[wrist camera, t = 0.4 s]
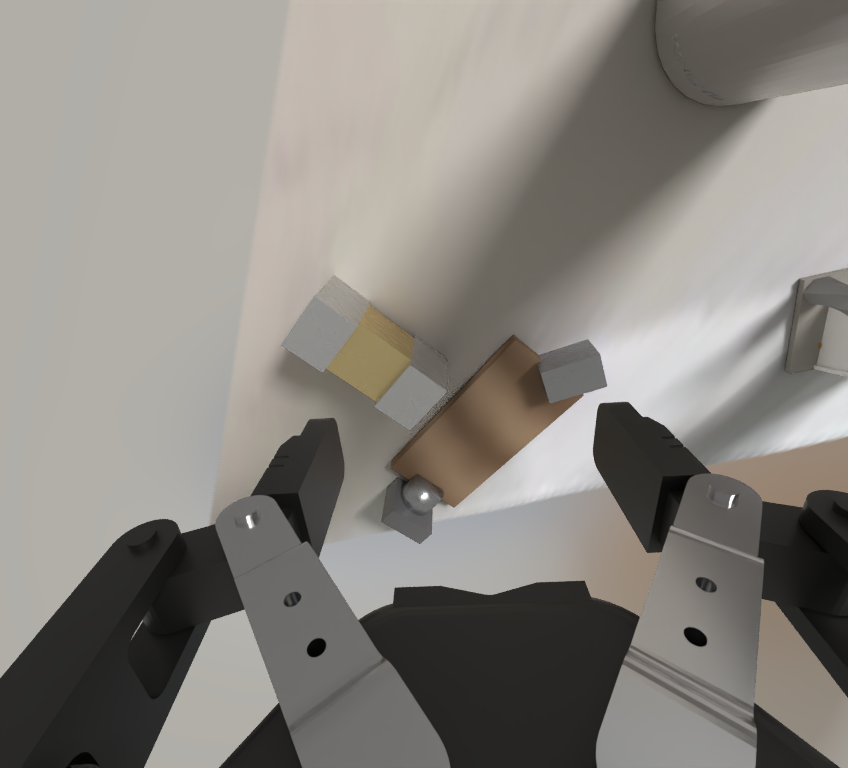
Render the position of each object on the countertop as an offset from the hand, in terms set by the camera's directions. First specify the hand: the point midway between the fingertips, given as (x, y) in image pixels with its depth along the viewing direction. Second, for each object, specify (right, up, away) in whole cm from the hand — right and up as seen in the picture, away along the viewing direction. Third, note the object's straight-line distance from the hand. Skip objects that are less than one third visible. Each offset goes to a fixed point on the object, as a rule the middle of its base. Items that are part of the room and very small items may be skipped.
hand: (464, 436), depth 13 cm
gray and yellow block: (-5, +5, +18) cm, 19 cm away
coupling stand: (+3, -2, +21) cm, 21 cm away
